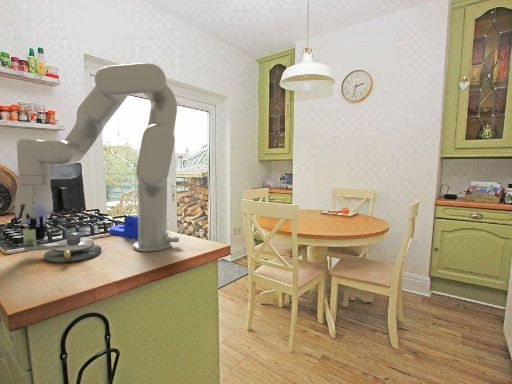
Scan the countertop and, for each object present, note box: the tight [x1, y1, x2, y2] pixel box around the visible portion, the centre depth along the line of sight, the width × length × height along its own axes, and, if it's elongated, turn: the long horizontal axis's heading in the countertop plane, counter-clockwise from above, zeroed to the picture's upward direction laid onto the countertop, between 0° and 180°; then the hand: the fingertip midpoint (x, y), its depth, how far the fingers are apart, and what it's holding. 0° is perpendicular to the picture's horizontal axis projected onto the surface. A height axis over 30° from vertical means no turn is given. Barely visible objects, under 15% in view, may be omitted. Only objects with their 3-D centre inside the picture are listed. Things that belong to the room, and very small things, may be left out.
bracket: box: [109, 214, 138, 241], centre depth 110 cm, size 18×8×9 cm, turn 65°
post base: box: [43, 244, 102, 264], centre depth 85 cm, size 15×16×4 cm
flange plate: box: [22, 227, 95, 253], centre depth 83 cm, size 18×11×6 cm, turn 114°
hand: (37, 238), depth 84 cm, fingers closed
